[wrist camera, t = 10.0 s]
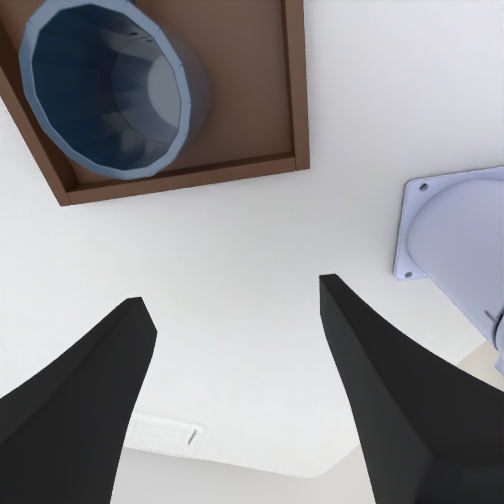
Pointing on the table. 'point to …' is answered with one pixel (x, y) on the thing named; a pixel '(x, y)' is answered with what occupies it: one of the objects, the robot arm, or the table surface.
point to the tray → (223, 93)
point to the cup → (113, 85)
